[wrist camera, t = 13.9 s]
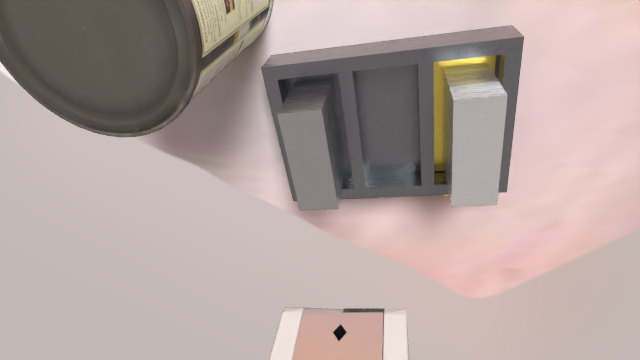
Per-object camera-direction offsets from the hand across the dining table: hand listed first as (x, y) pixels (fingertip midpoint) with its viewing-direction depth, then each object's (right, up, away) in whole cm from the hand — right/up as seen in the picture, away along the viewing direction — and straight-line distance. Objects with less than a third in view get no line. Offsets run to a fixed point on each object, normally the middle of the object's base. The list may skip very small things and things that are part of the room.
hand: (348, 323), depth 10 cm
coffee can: (-9, +18, +19) cm, 28 cm away
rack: (+5, +9, +23) cm, 25 cm away
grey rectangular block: (+10, +8, +20) cm, 24 cm away
